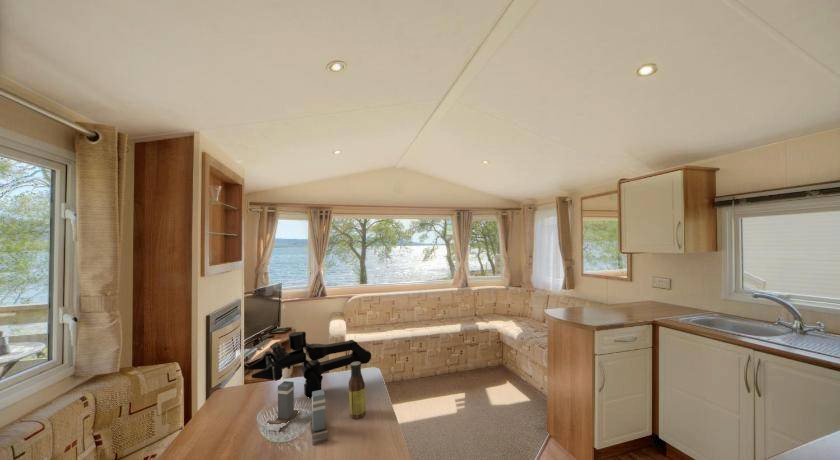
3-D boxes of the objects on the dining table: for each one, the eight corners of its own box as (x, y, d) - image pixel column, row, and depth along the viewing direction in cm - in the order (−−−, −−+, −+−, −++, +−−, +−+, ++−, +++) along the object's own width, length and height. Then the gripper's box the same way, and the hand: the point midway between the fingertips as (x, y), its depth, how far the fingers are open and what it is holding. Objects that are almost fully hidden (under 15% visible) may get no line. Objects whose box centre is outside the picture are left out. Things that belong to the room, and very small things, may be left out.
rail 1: (287, 411, 121) (287, 404, 121) (298, 412, 120) (298, 405, 120) (266, 430, 109) (266, 421, 109) (279, 431, 108) (278, 423, 108)
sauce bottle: (369, 412, 119) (368, 361, 119) (359, 421, 113) (358, 367, 114) (355, 409, 122) (354, 359, 122) (345, 417, 116) (344, 365, 117)
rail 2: (310, 425, 111) (310, 417, 112) (324, 421, 113) (324, 413, 114) (312, 445, 100) (312, 435, 101) (328, 440, 102) (328, 431, 103)
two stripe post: (312, 425, 109) (311, 391, 110) (324, 422, 111) (324, 389, 112) (312, 432, 106) (312, 397, 106) (325, 428, 107) (325, 394, 108)
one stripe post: (284, 412, 118) (284, 380, 119) (294, 413, 117) (294, 381, 118) (277, 418, 114) (277, 386, 115) (287, 419, 113) (287, 387, 114)
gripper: (283, 334, 137) (244, 345, 127) (295, 346, 122) (251, 359, 112) (286, 359, 137) (246, 371, 128) (297, 373, 122) (254, 389, 113)
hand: (249, 372), depth 120 cm, fingers open, 9 cm apart
